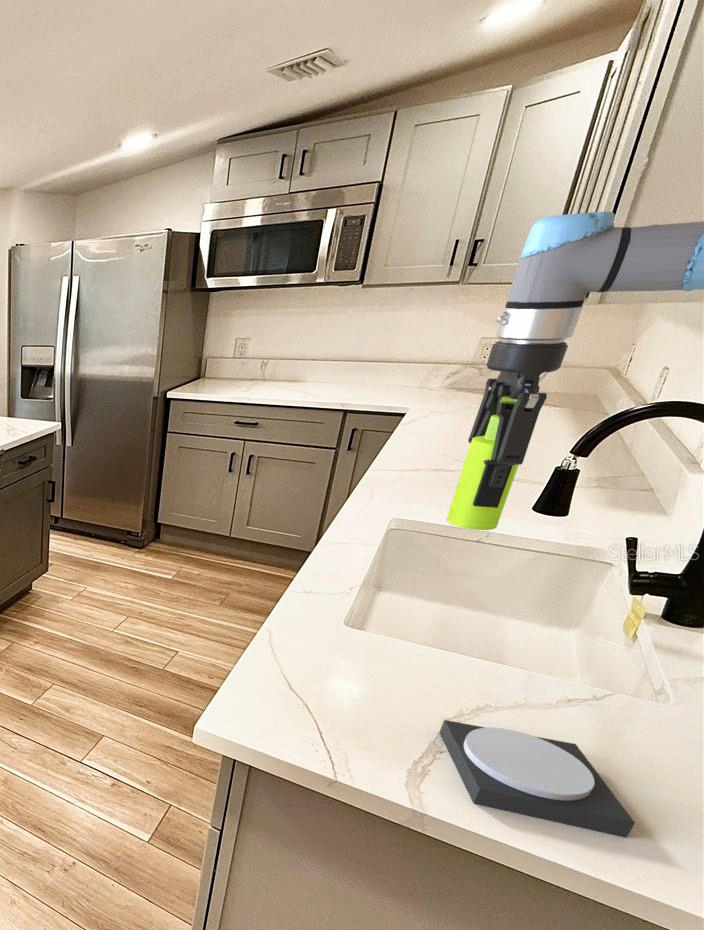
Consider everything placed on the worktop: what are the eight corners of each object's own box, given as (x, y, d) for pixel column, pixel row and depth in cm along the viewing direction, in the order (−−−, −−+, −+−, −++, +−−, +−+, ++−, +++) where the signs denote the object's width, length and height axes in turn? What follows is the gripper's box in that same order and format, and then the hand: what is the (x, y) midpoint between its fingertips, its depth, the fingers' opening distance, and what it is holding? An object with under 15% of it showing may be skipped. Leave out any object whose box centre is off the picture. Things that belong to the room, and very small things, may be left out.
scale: (568, 757, 83) (578, 737, 81) (626, 837, 71) (639, 816, 70) (439, 732, 88) (446, 714, 87) (473, 803, 77) (482, 783, 75)
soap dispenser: (441, 526, 95) (482, 395, 87) (450, 513, 99) (490, 388, 91) (491, 535, 91) (540, 399, 83) (499, 522, 95) (546, 391, 87)
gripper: (473, 334, 93) (429, 479, 103) (522, 349, 78) (465, 517, 87) (538, 333, 90) (487, 482, 100) (603, 348, 75) (535, 523, 84)
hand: (477, 498), depth 94 cm, fingers closed on soap dispenser, 6 cm apart
